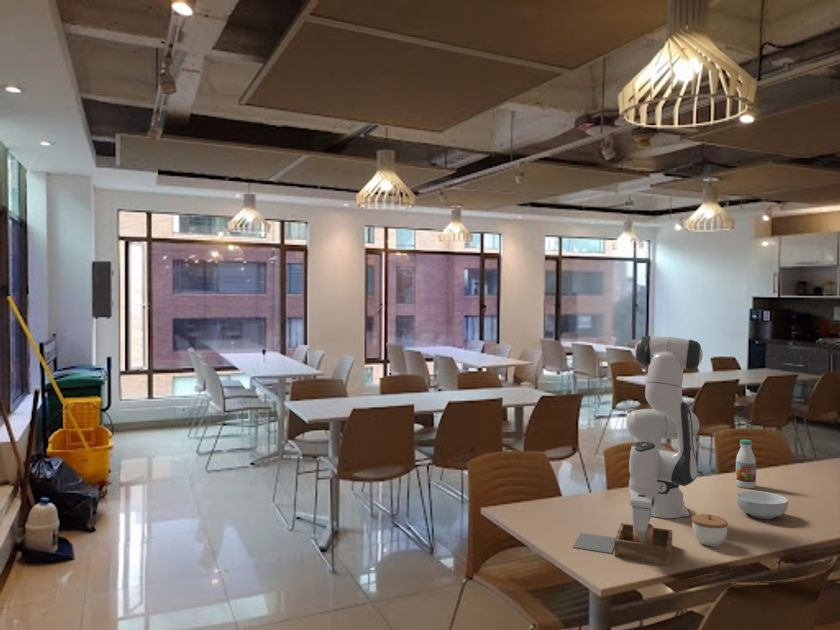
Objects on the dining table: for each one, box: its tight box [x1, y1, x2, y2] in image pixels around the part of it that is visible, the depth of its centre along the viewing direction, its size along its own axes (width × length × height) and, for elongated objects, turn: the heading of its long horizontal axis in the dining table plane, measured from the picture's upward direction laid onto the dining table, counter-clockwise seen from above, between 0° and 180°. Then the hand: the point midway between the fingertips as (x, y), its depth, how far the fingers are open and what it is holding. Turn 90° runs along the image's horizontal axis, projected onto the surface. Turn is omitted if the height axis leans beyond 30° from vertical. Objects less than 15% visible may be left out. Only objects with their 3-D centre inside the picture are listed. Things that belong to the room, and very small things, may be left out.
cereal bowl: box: [735, 490, 789, 520], centre depth 232 cm, size 17×17×7 cm
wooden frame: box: [613, 522, 673, 566], centre depth 198 cm, size 17×16×5 cm
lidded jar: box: [691, 513, 729, 547], centre depth 205 cm, size 11×11×9 cm
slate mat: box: [572, 532, 615, 555], centre depth 204 cm, size 14×12×1 cm
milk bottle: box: [735, 439, 757, 489], centre depth 271 cm, size 8×8×20 cm
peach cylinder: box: [632, 523, 654, 545], centre depth 199 cm, size 6×6×7 cm
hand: (643, 537), depth 199 cm, fingers closed on peach cylinder, 6 cm apart
